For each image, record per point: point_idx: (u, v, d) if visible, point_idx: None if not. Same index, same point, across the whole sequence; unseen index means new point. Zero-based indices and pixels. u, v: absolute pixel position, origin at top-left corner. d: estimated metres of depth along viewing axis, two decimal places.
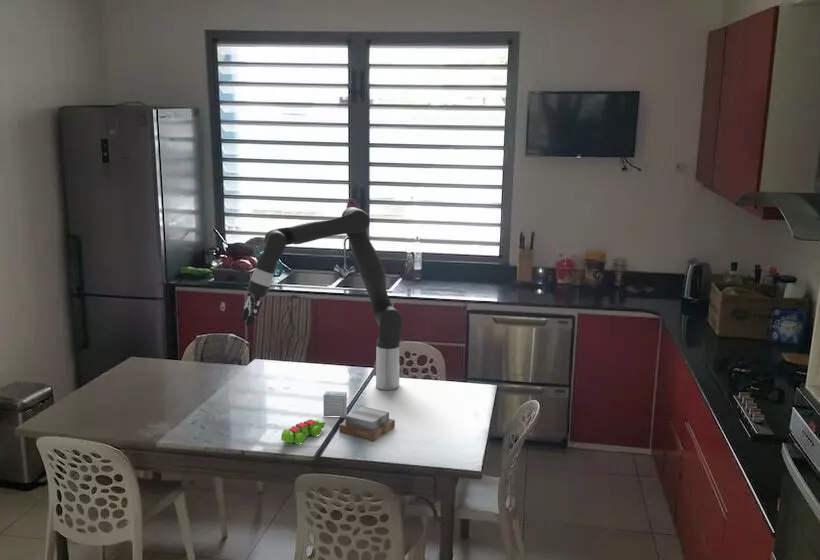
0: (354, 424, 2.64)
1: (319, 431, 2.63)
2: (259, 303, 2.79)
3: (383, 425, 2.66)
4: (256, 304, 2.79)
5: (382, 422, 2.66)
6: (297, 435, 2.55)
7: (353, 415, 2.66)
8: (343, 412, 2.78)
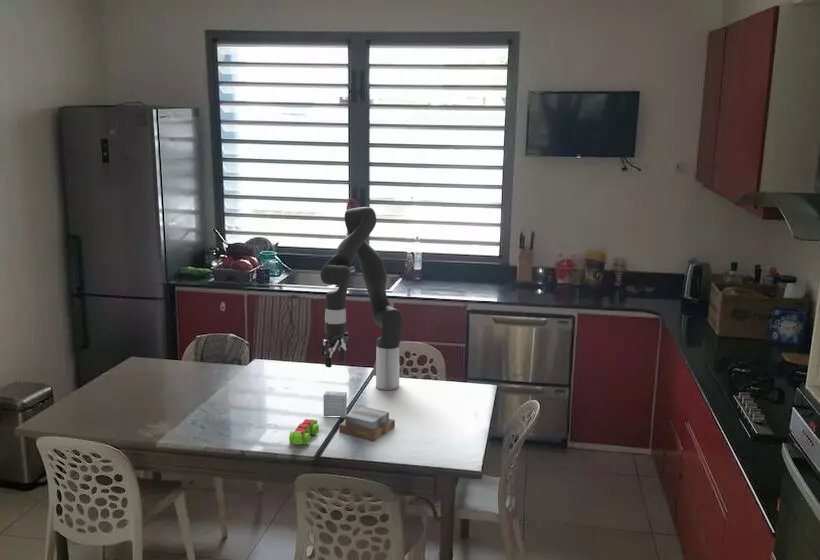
0: (354, 424, 2.64)
1: (318, 429, 2.64)
2: None
3: (383, 425, 2.66)
4: None
5: (382, 422, 2.66)
6: (305, 436, 2.55)
7: (353, 415, 2.66)
8: (343, 412, 2.78)
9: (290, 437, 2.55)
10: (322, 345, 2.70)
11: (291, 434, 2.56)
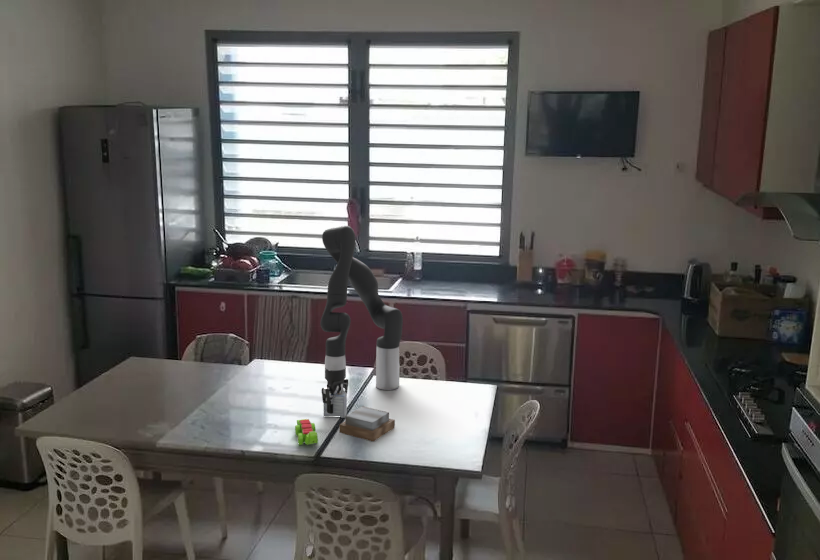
0: (354, 424, 2.64)
1: None
2: None
3: (383, 425, 2.66)
4: None
5: (382, 422, 2.66)
6: None
7: (353, 415, 2.66)
8: (343, 412, 2.78)
9: (300, 439, 2.54)
10: (323, 393, 2.74)
11: (300, 436, 2.55)
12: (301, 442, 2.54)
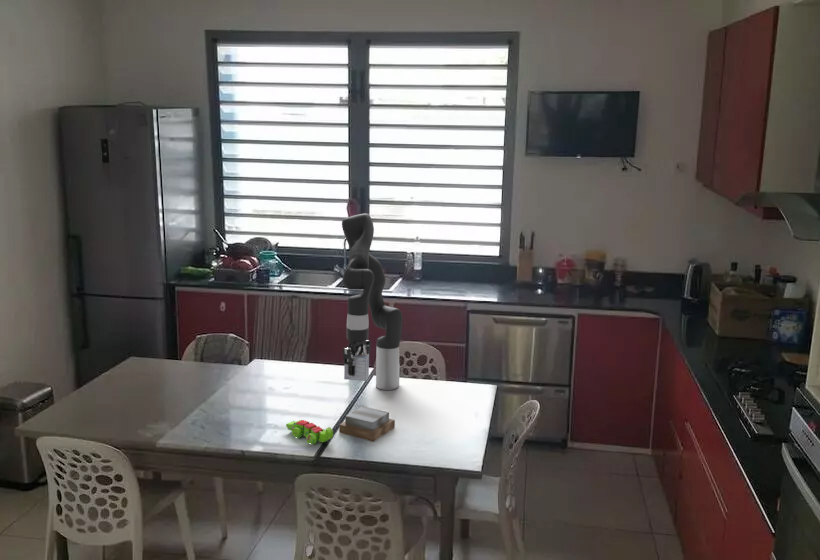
0: (354, 424, 2.64)
1: None
2: None
3: (383, 425, 2.66)
4: None
5: (382, 422, 2.66)
6: None
7: (353, 415, 2.66)
8: (365, 374, 2.65)
9: (314, 438, 2.55)
10: (344, 354, 2.61)
11: (313, 435, 2.55)
12: (315, 441, 2.55)
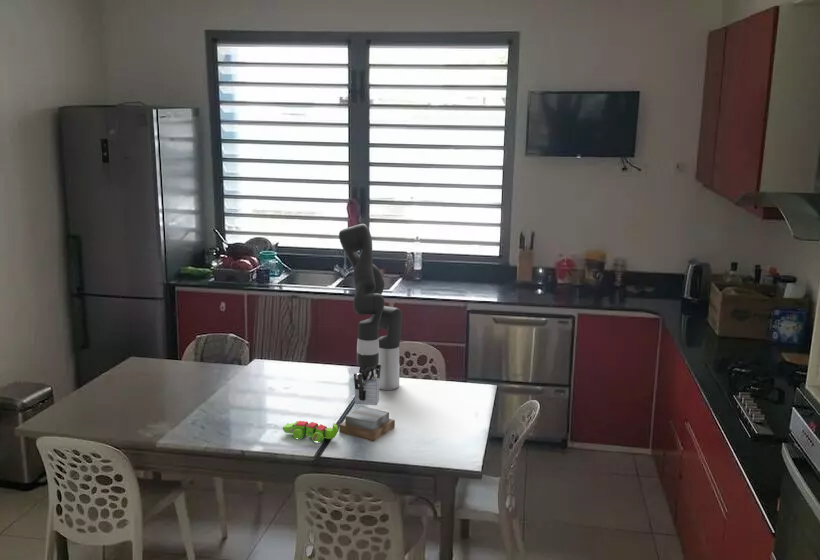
0: (354, 424, 2.64)
1: None
2: None
3: (383, 425, 2.66)
4: None
5: (382, 422, 2.66)
6: (327, 428, 2.61)
7: (353, 415, 2.66)
8: (375, 399, 2.64)
9: (322, 436, 2.57)
10: (355, 379, 2.59)
11: (320, 434, 2.57)
12: (322, 439, 2.57)
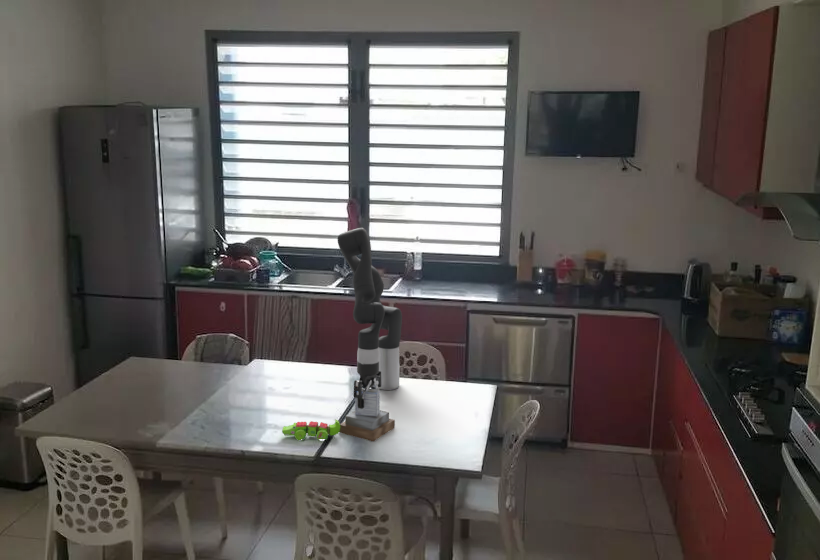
0: (354, 424, 2.64)
1: None
2: None
3: (383, 425, 2.66)
4: None
5: (382, 422, 2.66)
6: (326, 426, 2.64)
7: (353, 415, 2.66)
8: (375, 410, 2.65)
9: (327, 434, 2.59)
10: (355, 386, 2.60)
11: (325, 431, 2.59)
12: (327, 436, 2.59)
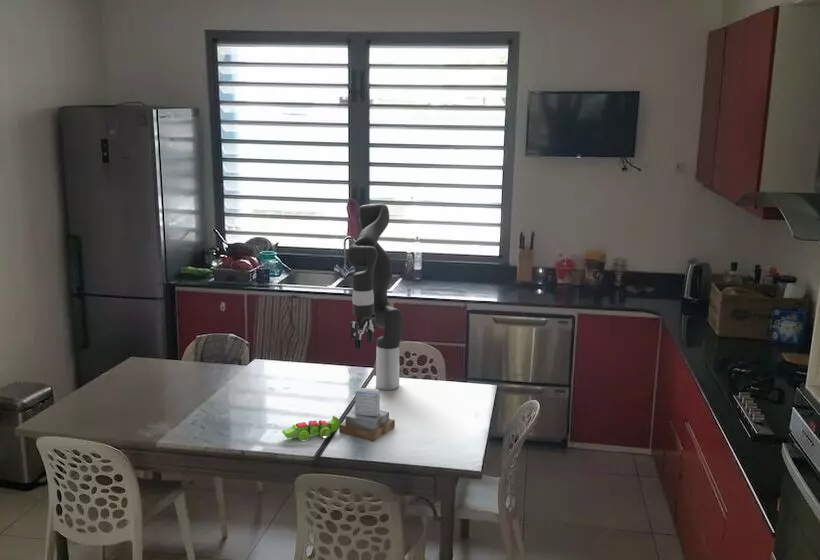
0: (354, 424, 2.64)
1: None
2: None
3: (383, 425, 2.66)
4: None
5: (382, 422, 2.66)
6: None
7: (353, 415, 2.66)
8: (375, 410, 2.65)
9: (330, 430, 2.62)
10: (351, 327, 2.67)
11: (328, 428, 2.62)
12: None
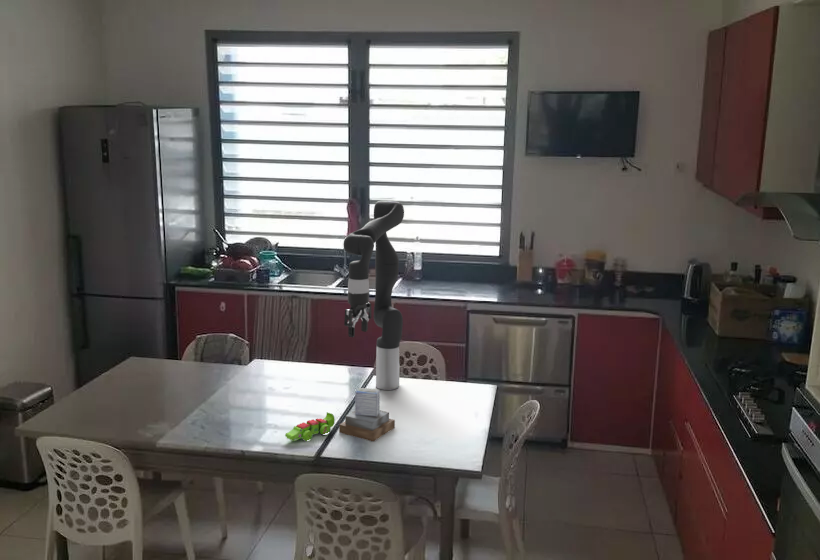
0: (354, 424, 2.64)
1: None
2: None
3: (383, 425, 2.66)
4: None
5: (382, 422, 2.66)
6: None
7: (353, 415, 2.66)
8: (375, 410, 2.65)
9: None
10: (345, 315, 2.71)
11: (327, 425, 2.64)
12: None
